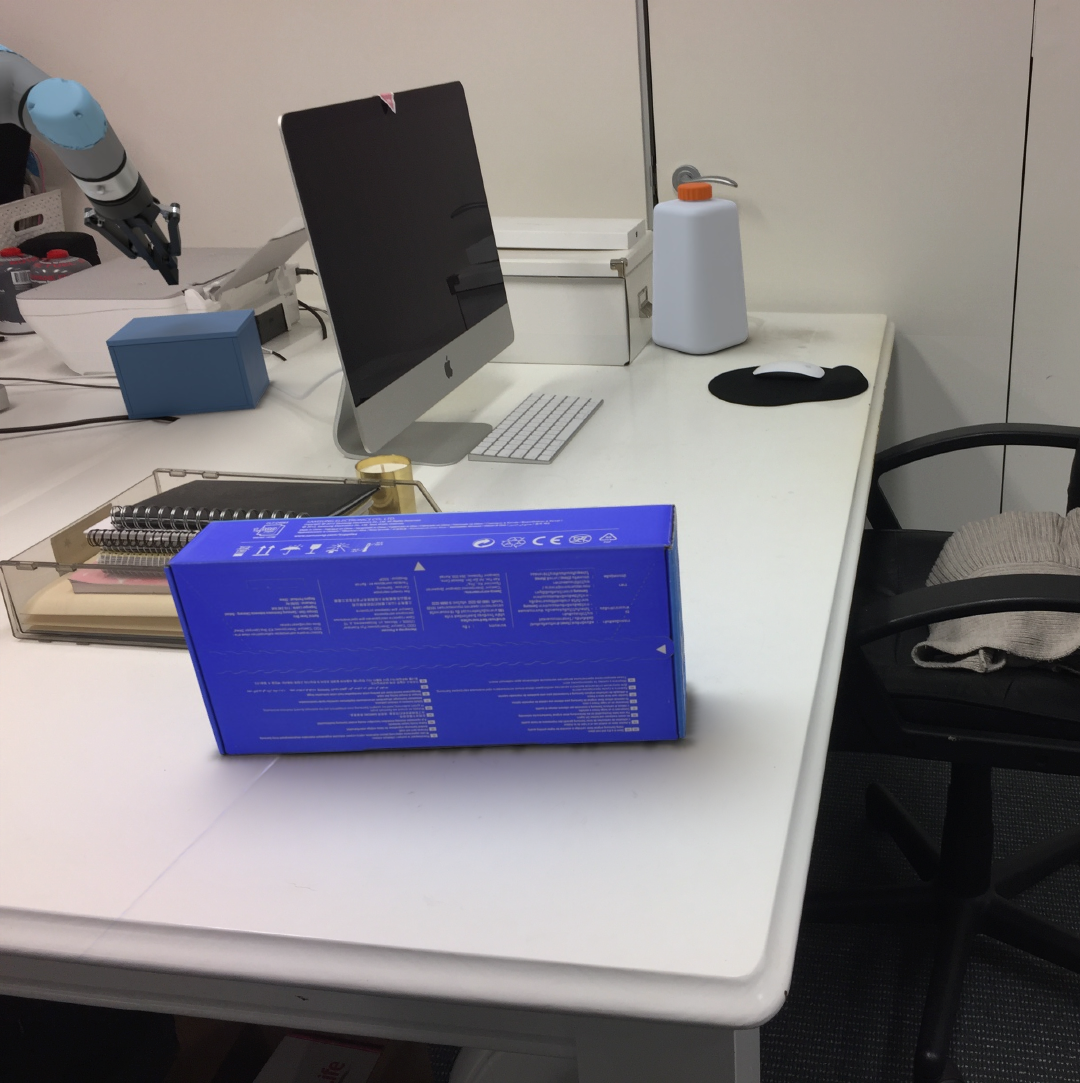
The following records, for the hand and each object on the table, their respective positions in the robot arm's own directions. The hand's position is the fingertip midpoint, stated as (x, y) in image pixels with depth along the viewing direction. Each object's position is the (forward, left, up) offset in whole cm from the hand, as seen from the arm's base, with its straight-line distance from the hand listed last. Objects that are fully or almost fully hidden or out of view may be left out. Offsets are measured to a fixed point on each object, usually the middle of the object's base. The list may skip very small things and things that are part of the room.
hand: (173, 277), depth 163 cm
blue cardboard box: (+84, -73, -20) cm, 113 cm away
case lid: (+1, -2, -8) cm, 8 cm away
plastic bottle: (+73, +44, -20) cm, 88 cm away
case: (+1, -2, -20) cm, 20 cm away
